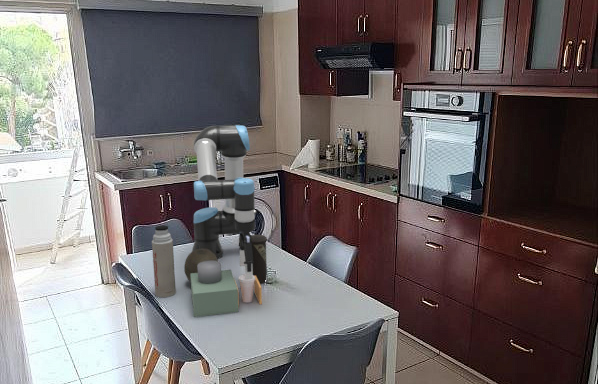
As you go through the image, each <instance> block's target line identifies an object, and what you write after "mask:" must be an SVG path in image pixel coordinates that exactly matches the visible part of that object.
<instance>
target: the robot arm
mask: <svg viewBox="0 0 598 384" xmlns="http://www.w3.org/2000/svg"><path fill="white" fill-rule="evenodd" d="M193 150H194V153H195V154H196V163H197V164H196V165H197V177H198V178H197V179H198V180H196V181H194V182H193V192H194V194H193V195H194V199H195V201H216V200H218V201H219V200H225V204H224V205H223V206H222V210H219V209H218V207H204V208H201V209H199V210H196V211H195V212H194V214H193V226H194V227H193V231H194V232H193V234H194V242H193V245H192V250H191V252H192V251H194V250H197V249H208V250H210V251H211V252H212V253H213V254H214V255H215V256H216V257H217V260H218V259H220V258H222V257H223V256H224V250H223V246H222V244H221V242H220V235H237V234H238V235H239V237H238V249H239V266H240V267H244V275H245V279H246V280H248V279H253V265H252V263H254V261H253V252H252V237H251V235H252V234H251V233H250V232H253V231H255V229H256V220H255V218H256V217H255V216H256V215H255V214H256V213H257V210H255V207H256V206H255V188H256V187H255V181H254V180H253V179H251V178H248V177H247V178H246V177H244V158H245V157H246V156H247V152H249V151H250V150H251V147H250V137H249V132H248V129H247V127H246V126H245V125H237V124H233V125H232V124H231V125H229V124H228V125H227V124H226V125H211V126H207V127H205V128H203V129H202V130H201V131H200V132H199V133H198V134H197V136H196V137H195V139H194V142H193ZM217 152H220V155H221V156H222V157H223V158H224V179H221V180H220V179H218V173H217V172H218V171H217V163H216V153H217Z"/></svg>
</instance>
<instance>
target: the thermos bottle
mask: <svg viewBox="0 0 598 384" xmlns="http://www.w3.org/2000/svg"><path fill="white" fill-rule="evenodd" d="M154 229H155V231H154V232H155V233H154V234H153V235H152V236H153V237H152V240H151V248H152V249H151V250H152V262H153V278H154V279H153V281H154V291H155V292H154V294H155V296H156V297H159V298H168V297H172V296H174V295H176V293H177V288H176V274H175V273H176V272H175V256H174V239H173V238H172V236H171V233H170V232H169V226H168V225H166V224H165V225H157V226H155V228H154Z"/></svg>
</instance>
